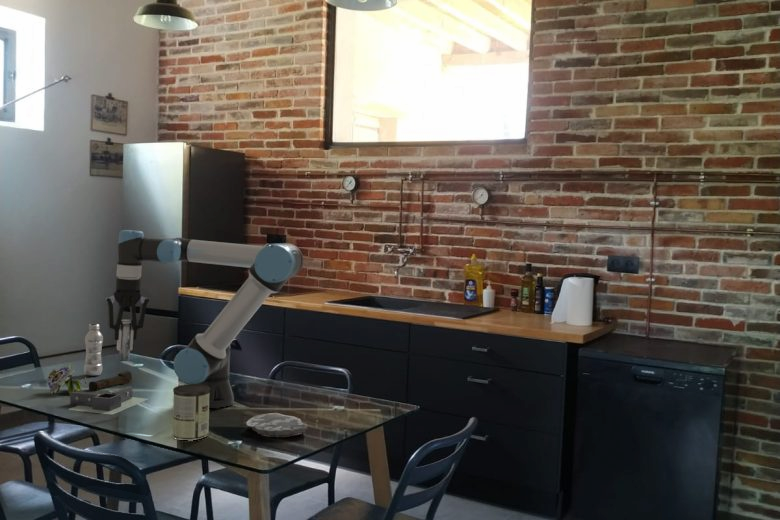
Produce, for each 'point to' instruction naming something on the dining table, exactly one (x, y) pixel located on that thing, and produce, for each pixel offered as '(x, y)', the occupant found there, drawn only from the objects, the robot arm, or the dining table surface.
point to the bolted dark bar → (124, 393)
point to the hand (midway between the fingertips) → (124, 349)
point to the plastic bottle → (93, 351)
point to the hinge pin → (125, 340)
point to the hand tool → (111, 381)
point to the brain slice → (276, 424)
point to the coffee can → (191, 412)
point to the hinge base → (96, 400)
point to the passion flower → (63, 380)
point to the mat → (124, 406)
